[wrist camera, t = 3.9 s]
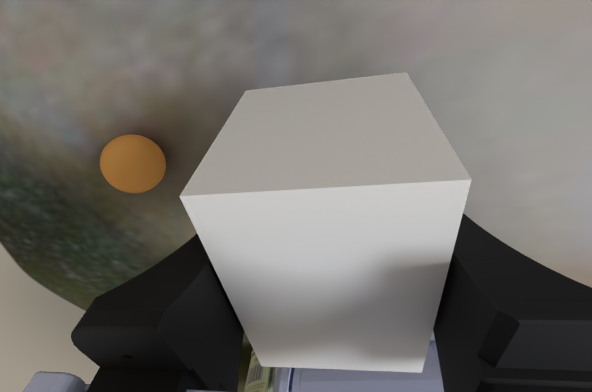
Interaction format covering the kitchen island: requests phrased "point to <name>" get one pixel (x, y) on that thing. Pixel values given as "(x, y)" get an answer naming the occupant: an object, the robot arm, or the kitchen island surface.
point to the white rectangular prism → (332, 221)
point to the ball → (132, 163)
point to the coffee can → (259, 376)
